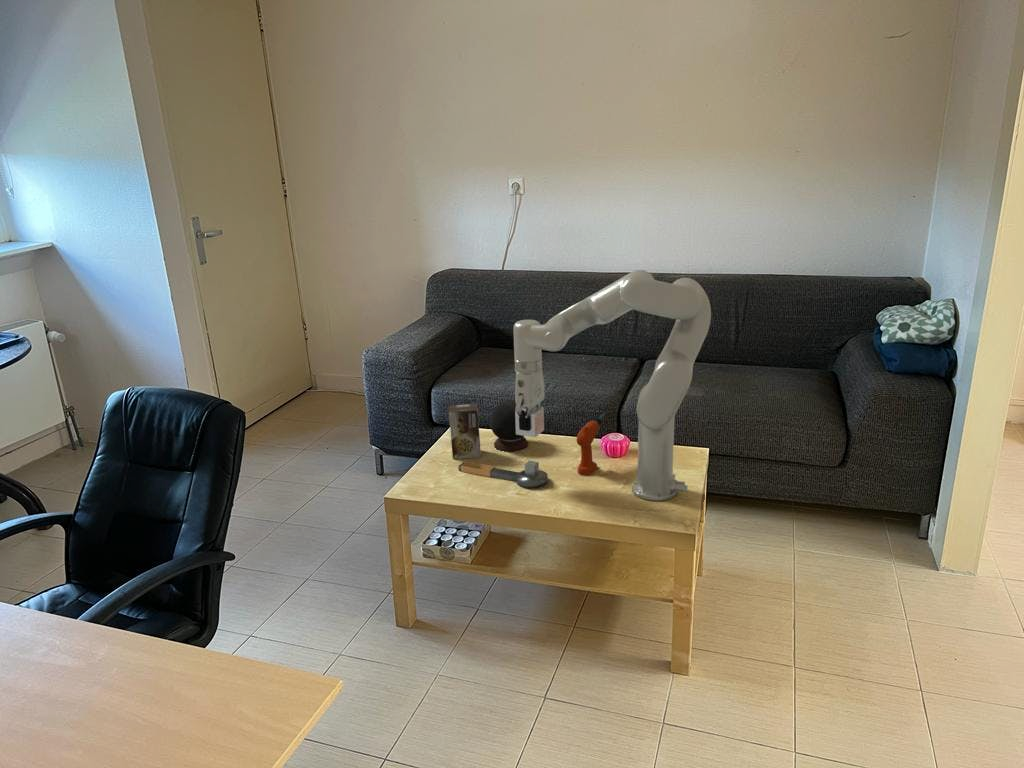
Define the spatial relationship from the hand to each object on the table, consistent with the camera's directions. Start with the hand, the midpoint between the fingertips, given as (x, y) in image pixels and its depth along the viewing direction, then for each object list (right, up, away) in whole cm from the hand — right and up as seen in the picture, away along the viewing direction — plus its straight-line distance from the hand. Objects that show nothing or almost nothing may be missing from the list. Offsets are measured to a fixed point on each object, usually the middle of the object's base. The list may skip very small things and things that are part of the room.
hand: (530, 425), depth 206 cm
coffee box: (-20, -11, +26) cm, 35 cm away
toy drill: (+20, -13, +16) cm, 28 cm away
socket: (0, -2, +1) cm, 2 cm away
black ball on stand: (-5, -9, +32) cm, 34 cm away
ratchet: (-8, -16, +10) cm, 20 cm away
